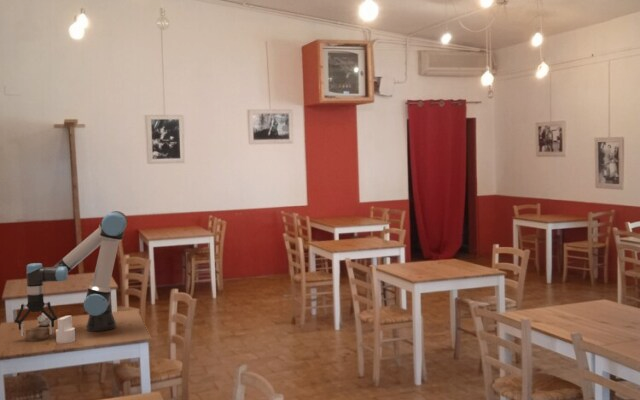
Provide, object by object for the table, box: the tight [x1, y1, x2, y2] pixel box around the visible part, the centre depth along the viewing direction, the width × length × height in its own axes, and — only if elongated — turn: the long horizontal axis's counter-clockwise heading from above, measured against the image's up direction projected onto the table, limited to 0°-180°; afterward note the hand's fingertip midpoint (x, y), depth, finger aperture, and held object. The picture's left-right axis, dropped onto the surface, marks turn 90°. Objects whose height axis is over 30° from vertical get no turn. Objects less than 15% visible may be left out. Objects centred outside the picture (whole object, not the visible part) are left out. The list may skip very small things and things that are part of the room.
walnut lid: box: [25, 326, 50, 343], centre depth 346 cm, size 11×11×5 cm
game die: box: [35, 311, 51, 327], centre depth 375 cm, size 9×8×10 cm
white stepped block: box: [55, 315, 76, 344], centre depth 339 cm, size 9×9×12 cm
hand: (36, 334), depth 346 cm, fingers open, 13 cm apart
